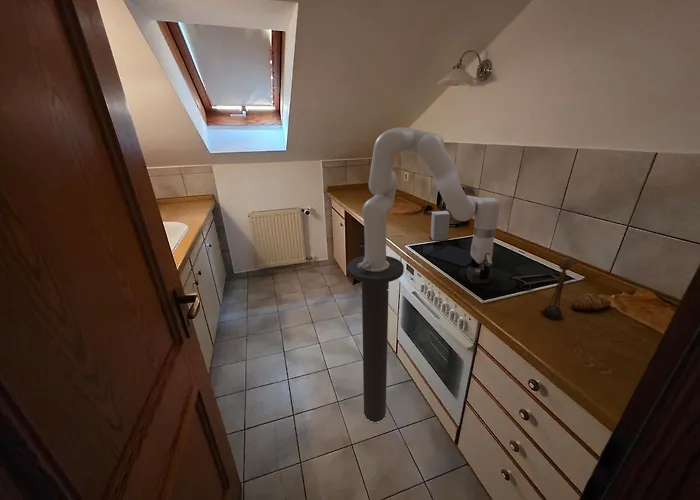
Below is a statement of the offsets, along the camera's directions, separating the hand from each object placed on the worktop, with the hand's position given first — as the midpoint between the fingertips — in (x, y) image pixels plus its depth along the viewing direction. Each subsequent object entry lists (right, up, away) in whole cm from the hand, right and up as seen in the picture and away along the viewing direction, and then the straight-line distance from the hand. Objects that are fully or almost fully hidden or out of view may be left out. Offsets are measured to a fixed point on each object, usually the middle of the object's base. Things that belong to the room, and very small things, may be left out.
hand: (479, 273), depth 116 cm
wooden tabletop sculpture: (+14, -12, -22) cm, 28 cm away
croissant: (+29, -10, -18) cm, 35 cm away
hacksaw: (+24, -3, -2) cm, 25 cm away
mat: (-1, +6, +24) cm, 24 cm away
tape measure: (0, -3, +1) cm, 3 cm away
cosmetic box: (-2, +15, +45) cm, 47 cm away
